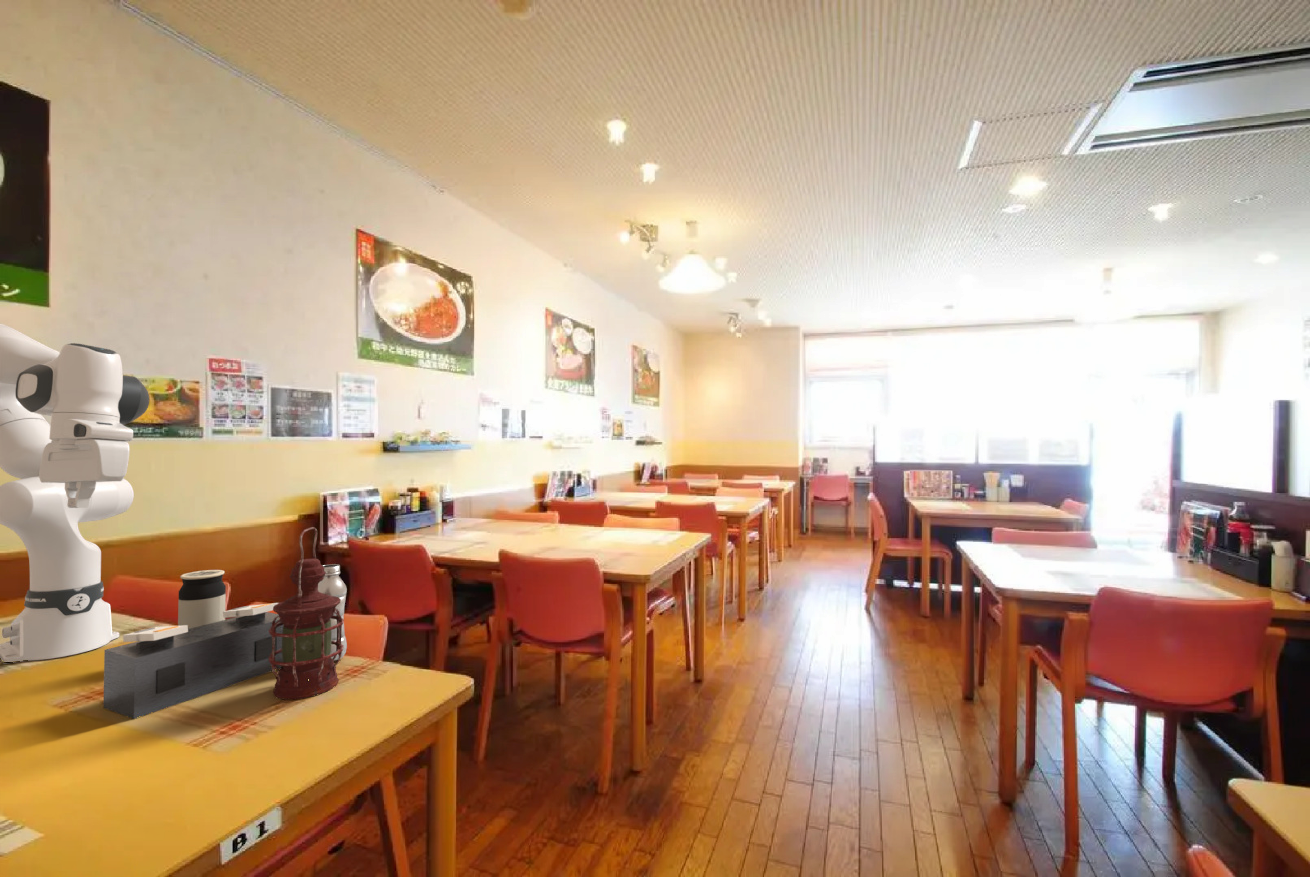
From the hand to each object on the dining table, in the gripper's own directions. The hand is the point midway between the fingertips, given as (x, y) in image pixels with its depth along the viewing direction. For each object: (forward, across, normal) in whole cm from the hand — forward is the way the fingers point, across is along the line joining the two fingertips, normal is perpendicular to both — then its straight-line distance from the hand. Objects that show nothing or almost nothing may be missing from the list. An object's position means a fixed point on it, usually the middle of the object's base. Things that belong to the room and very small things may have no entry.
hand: (78, 507), depth 102 cm
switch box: (+34, +13, +15) cm, 39 cm away
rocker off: (+21, +14, +22) cm, 34 cm away
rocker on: (+22, +13, +6) cm, 27 cm away
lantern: (+34, +33, +21) cm, 52 cm away
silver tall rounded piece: (+33, +24, +33) cm, 53 cm away
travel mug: (+33, -3, +24) cm, 41 cm away
